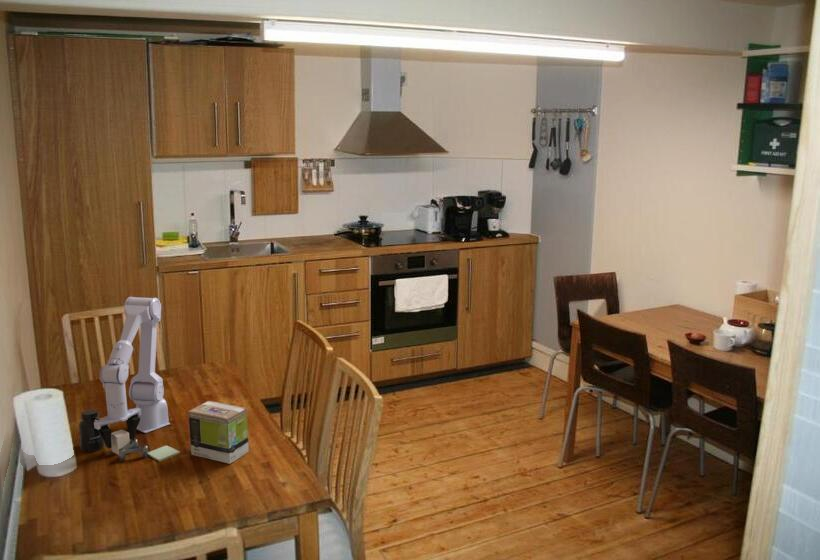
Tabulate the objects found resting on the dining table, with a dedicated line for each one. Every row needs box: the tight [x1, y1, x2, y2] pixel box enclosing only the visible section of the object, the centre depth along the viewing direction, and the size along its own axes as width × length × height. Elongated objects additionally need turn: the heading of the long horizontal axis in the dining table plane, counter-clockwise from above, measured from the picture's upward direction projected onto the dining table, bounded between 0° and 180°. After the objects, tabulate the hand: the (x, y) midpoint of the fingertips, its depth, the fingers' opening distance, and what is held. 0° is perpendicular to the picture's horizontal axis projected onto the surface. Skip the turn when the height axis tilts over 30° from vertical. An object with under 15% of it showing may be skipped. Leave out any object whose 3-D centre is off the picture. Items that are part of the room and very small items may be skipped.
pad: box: [148, 445, 181, 462], centre depth 229 cm, size 7×7×1 cm
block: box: [110, 429, 131, 456], centre depth 231 cm, size 4×4×6 cm
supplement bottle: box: [78, 408, 105, 453], centre depth 232 cm, size 7×7×12 cm
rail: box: [118, 438, 150, 462], centre depth 227 cm, size 8×8×4 cm
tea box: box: [188, 400, 250, 465], centre depth 229 cm, size 15×10×15 cm, turn 65°
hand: (120, 443), depth 231 cm, fingers open, 7 cm apart
